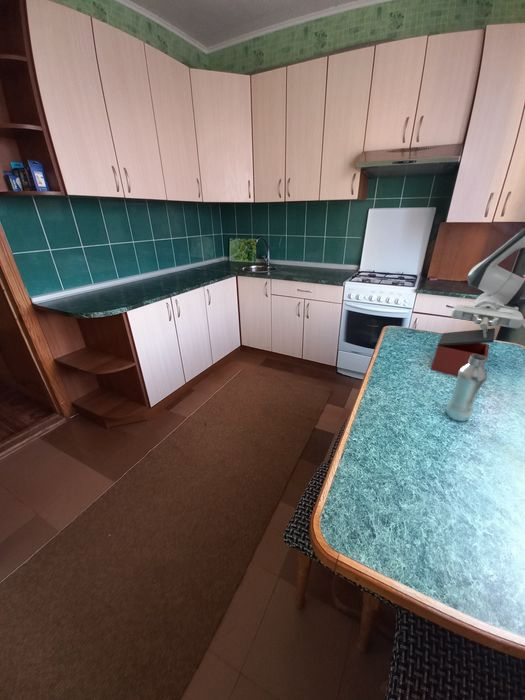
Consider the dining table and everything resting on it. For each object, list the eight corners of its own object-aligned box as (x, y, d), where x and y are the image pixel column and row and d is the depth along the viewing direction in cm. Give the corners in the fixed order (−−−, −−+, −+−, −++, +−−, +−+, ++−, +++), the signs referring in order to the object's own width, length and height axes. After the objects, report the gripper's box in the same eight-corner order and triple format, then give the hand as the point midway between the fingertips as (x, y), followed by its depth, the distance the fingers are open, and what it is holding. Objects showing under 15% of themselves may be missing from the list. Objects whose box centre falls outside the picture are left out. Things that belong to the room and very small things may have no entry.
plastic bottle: (440, 416, 86) (460, 357, 77) (448, 406, 90) (468, 349, 80) (465, 427, 81) (489, 366, 72) (472, 416, 85) (496, 357, 76)
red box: (480, 368, 109) (489, 344, 105) (478, 382, 101) (487, 357, 97) (436, 357, 117) (443, 334, 113) (430, 369, 109) (437, 346, 105)
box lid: (495, 330, 102) (493, 314, 101) (493, 342, 94) (491, 324, 93) (443, 334, 113) (441, 320, 111) (438, 345, 104) (435, 330, 103)
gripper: (455, 298, 112) (451, 308, 102) (524, 307, 101) (526, 319, 91) (451, 314, 114) (446, 325, 105) (517, 324, 103) (519, 338, 94)
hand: (484, 322), depth 98 cm, fingers closed on box lid, 2 cm apart
